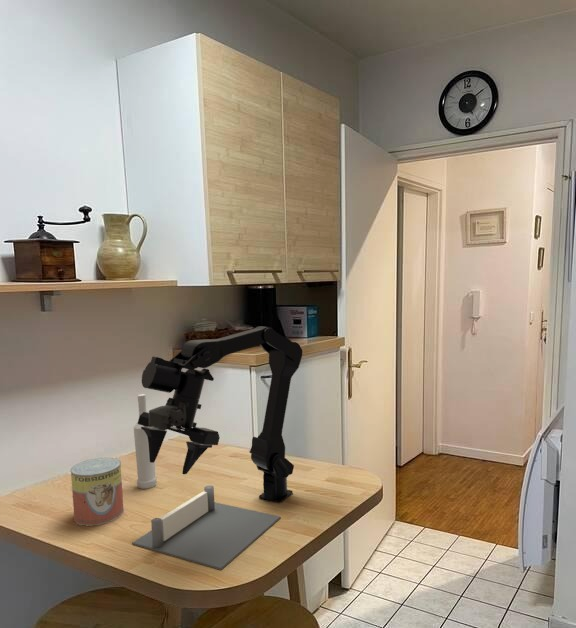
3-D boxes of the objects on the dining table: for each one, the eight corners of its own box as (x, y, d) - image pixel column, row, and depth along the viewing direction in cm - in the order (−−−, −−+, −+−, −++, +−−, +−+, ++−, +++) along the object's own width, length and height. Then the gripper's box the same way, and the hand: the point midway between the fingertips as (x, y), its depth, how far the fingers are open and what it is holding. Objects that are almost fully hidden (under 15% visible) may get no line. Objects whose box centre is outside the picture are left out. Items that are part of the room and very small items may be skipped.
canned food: (78, 530, 115) (74, 478, 114) (70, 512, 124) (66, 464, 123) (129, 516, 121) (126, 467, 120) (117, 500, 130) (114, 454, 129)
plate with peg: (200, 500, 128) (199, 477, 127) (280, 518, 117) (279, 493, 116) (132, 544, 108) (130, 517, 107) (221, 570, 97) (219, 540, 96)
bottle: (136, 483, 141) (130, 394, 139) (155, 480, 143) (150, 392, 141) (138, 490, 136) (132, 398, 134) (158, 486, 138) (152, 395, 136)
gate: (209, 505, 123) (208, 484, 123) (216, 507, 122) (215, 486, 121) (158, 539, 107) (156, 516, 107) (166, 542, 106) (164, 518, 106)
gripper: (130, 383, 110) (109, 456, 107) (198, 402, 101) (177, 482, 98) (163, 389, 119) (145, 456, 117) (228, 407, 110) (210, 480, 108)
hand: (167, 468), depth 110 cm, fingers open, 9 cm apart
